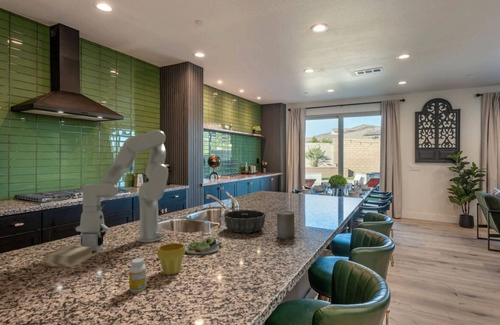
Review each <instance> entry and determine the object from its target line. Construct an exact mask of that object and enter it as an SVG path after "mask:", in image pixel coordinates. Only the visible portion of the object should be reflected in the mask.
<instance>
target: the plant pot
mask: <svg viewBox="0 0 500 325" xmlns="http://www.w3.org/2000/svg"><path fill="white" fill-rule="evenodd" d="M185 248H186V245H185V244H184V243H180V242H179V243H177V242H173V243H172V242H171V243H165V244H162V245H159V246H157V258H158V259H159V262H160V266H161V269H162V273H163V274H164V275H176V274H179V272H180V271H182V270H181V269H182V265H183V260H184V259H183V258H184V256H185V253H186V252H185Z"/></svg>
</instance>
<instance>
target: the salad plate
mask: <svg viewBox="0 0 500 325" xmlns="http://www.w3.org/2000/svg"><path fill="white" fill-rule="evenodd" d="M222 244H223V242H219V241H216V237H214V236H209V237H206V238H204V240H202V241H192V242H189V243H187V244H186V245H185V253H187V254H189V255H192V256H193V255H194V256H196V255H197V256H198V255H202V256H203V255H209V254H214V253H216V252H218V250H219V249H220V246H221V245H222ZM190 250H193V251H190ZM194 251H195V252H194ZM196 251H197V252H196Z"/></svg>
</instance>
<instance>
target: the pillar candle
mask: <svg viewBox="0 0 500 325" xmlns="http://www.w3.org/2000/svg"><path fill="white" fill-rule="evenodd" d="M276 219H277V220H276V226H277V228H276V229H277V231H276V232H277V238H279V239H283V240H291V239H293V238H295V235H296V234H295V212H294V211H290V210H280V211H277V212H276Z"/></svg>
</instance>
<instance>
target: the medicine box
mask: <svg viewBox="0 0 500 325" xmlns="http://www.w3.org/2000/svg"><path fill="white" fill-rule="evenodd" d="M100 234H101V233H100ZM98 238H99V236H98V234H97V233H83V234H82V245H81V246H83V247H92V252H98V251H101V250H103V249H104V248H103V245H104V244H102V245H100V246H98Z"/></svg>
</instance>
